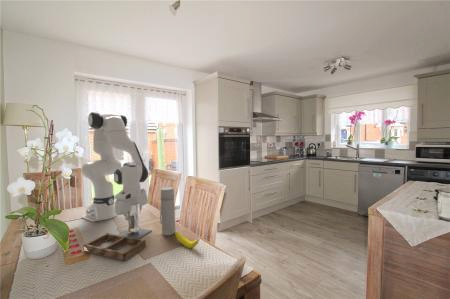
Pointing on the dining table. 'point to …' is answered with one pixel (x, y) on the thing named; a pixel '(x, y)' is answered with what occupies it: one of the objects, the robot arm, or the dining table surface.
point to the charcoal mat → (136, 233)
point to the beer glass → (133, 219)
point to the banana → (186, 241)
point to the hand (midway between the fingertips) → (133, 217)
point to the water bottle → (167, 211)
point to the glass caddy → (115, 246)
